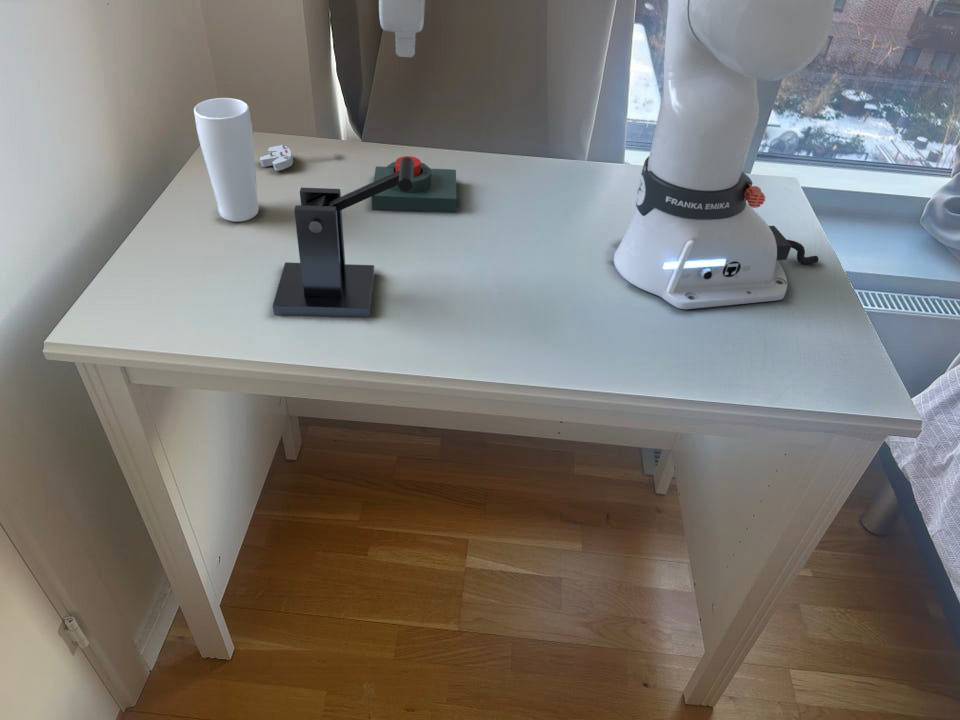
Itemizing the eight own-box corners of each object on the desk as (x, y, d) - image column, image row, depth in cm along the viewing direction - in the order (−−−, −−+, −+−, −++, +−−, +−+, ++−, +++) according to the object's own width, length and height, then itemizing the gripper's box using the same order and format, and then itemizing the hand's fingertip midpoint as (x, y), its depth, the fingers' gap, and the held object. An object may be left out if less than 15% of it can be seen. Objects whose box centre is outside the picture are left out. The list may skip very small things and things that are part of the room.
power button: (420, 167, 108) (421, 156, 107) (420, 179, 106) (420, 168, 105) (396, 166, 108) (396, 155, 107) (395, 178, 105) (394, 167, 104)
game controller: (254, 161, 114) (252, 145, 113) (320, 144, 120) (319, 129, 119) (271, 175, 111) (269, 159, 109) (338, 158, 117) (337, 142, 115)
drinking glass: (252, 229, 100) (234, 122, 90) (204, 221, 100) (182, 114, 90) (272, 205, 105) (258, 101, 95) (227, 198, 105) (208, 94, 96)
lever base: (374, 273, 94) (371, 181, 85) (369, 317, 87) (364, 221, 78) (286, 270, 93) (273, 177, 84) (273, 314, 86) (259, 217, 78)
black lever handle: (418, 169, 82) (408, 151, 81) (417, 191, 79) (406, 173, 77) (317, 215, 86) (305, 198, 84) (311, 238, 82) (299, 221, 80)
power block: (455, 182, 113) (456, 158, 111) (455, 212, 106) (457, 187, 104) (376, 179, 112) (375, 154, 110) (371, 209, 106) (370, 184, 103)
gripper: (442, -91, 55) (438, 94, 64) (442, -134, 70) (439, 20, 79) (356, -96, 54) (364, 91, 63) (375, -138, 70) (379, 17, 79)
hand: (406, 51), depth 72 cm, fingers closed
